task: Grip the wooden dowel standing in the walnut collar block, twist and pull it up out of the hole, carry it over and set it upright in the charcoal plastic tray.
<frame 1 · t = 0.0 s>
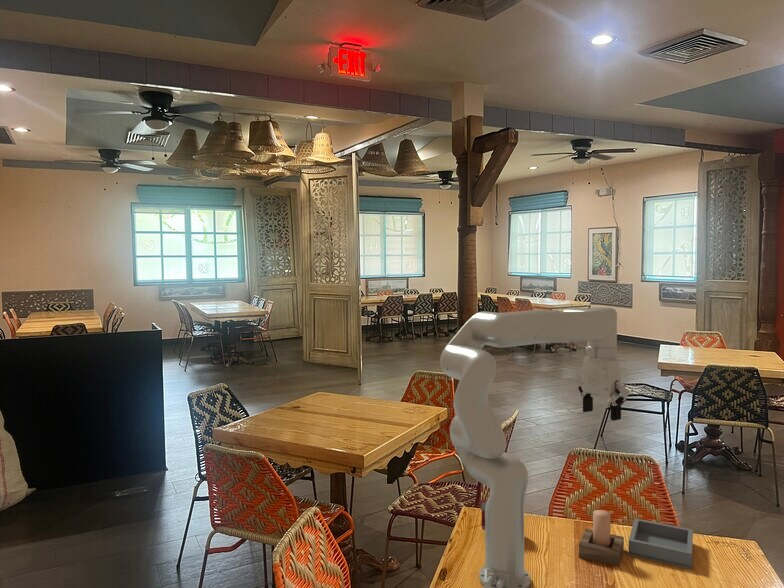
hand: (601, 415, 150), 37 cm above the table, tool pointing down, fingers open, 9 cm apart
collar block: (601, 553, 149), on the table
toy fire truck: (501, 536, 160), on the table
tray: (661, 549, 151), on the table
dowel: (601, 533, 149), in the collar block
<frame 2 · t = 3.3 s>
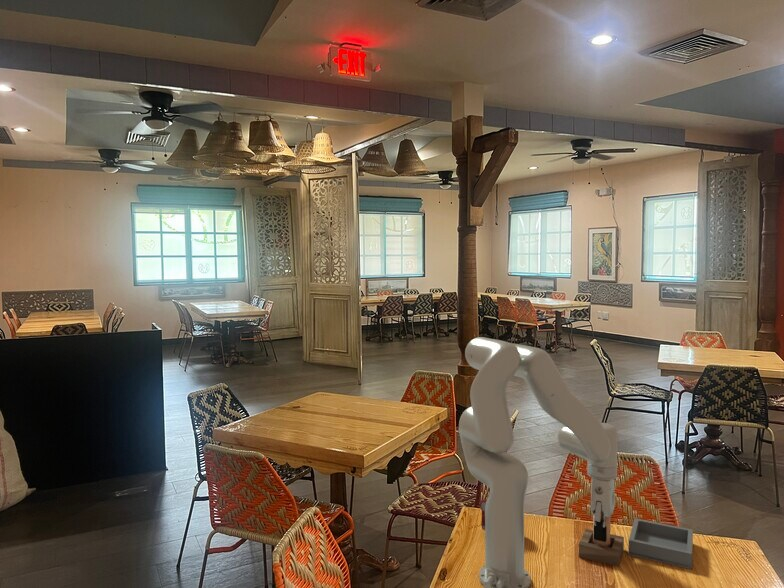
hand: (601, 535, 149), 5 cm above the table, tool pointing down, fingers closed on dowel, 4 cm apart
dowel: (601, 533, 149), in the collar block, touching gripper
everything else where it was.
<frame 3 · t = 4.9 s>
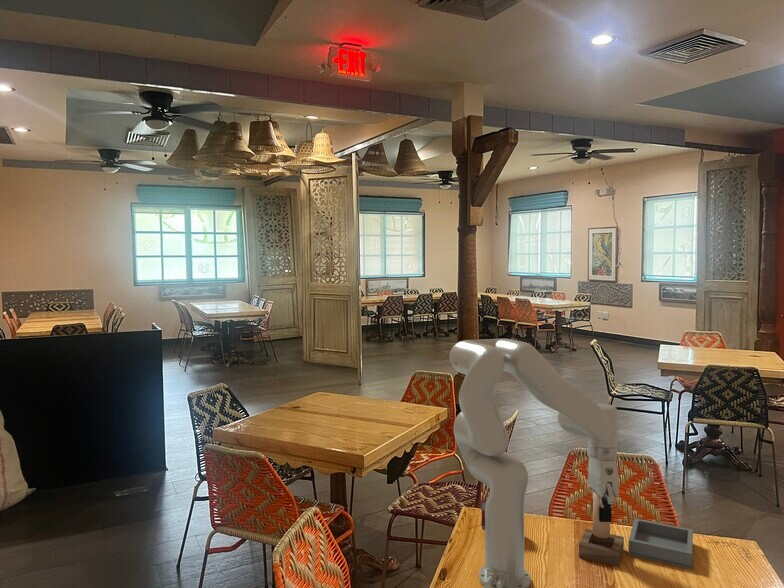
hand: (601, 516, 149), 10 cm above the table, tool pointing down, fingers closed on dowel, 4 cm apart
dowel: (601, 514, 149), point 11 cm above the table, touching gripper
everything else where it was.
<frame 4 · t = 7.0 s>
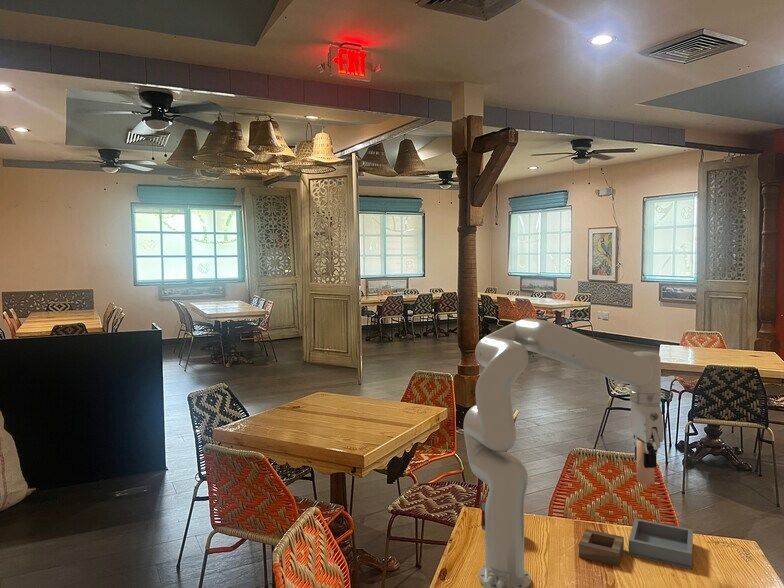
hand: (645, 463, 150), 24 cm above the table, tool pointing down, fingers closed on dowel, 4 cm apart
dowel: (645, 460, 150), point 25 cm above the table, touching gripper
everything else where it was.
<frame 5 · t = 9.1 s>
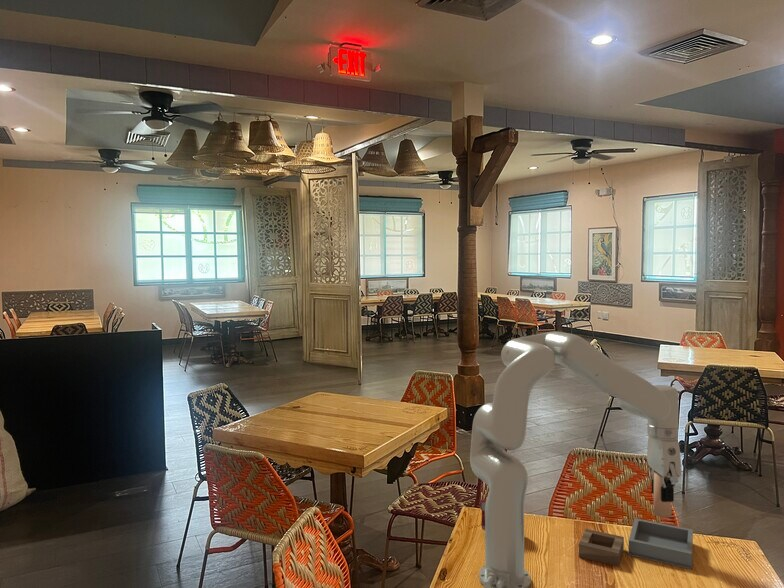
hand: (662, 496, 151), 15 cm above the table, tool pointing down, fingers closed on dowel, 4 cm apart
dowel: (662, 494, 150), point 15 cm above the table, touching gripper
everything else where it was.
when the fingers open (7 cm above the table, at t = 10.8 s): dowel drops 2 cm, resting on tray.
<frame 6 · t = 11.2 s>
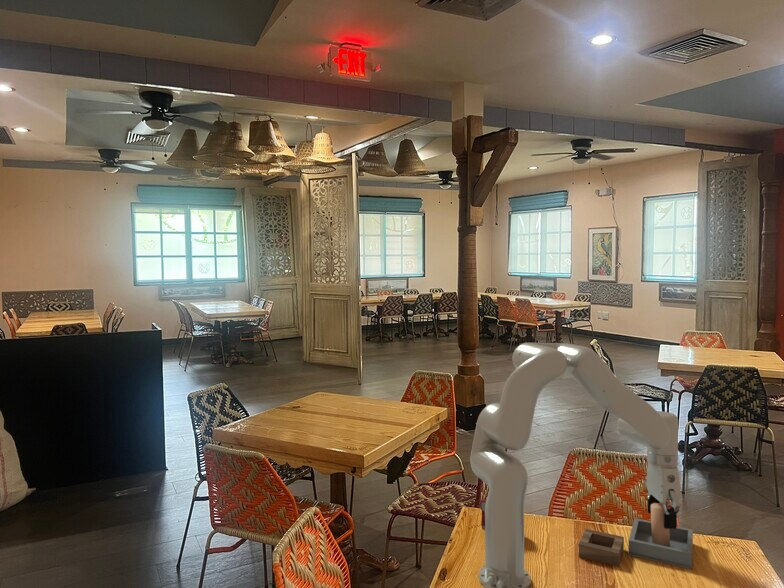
hand: (661, 520, 151), 8 cm above the table, tool pointing down, fingers open, 8 cm apart
dowel: (660, 526, 151), in the tray, point 6 cm above the table
everything else where it was.
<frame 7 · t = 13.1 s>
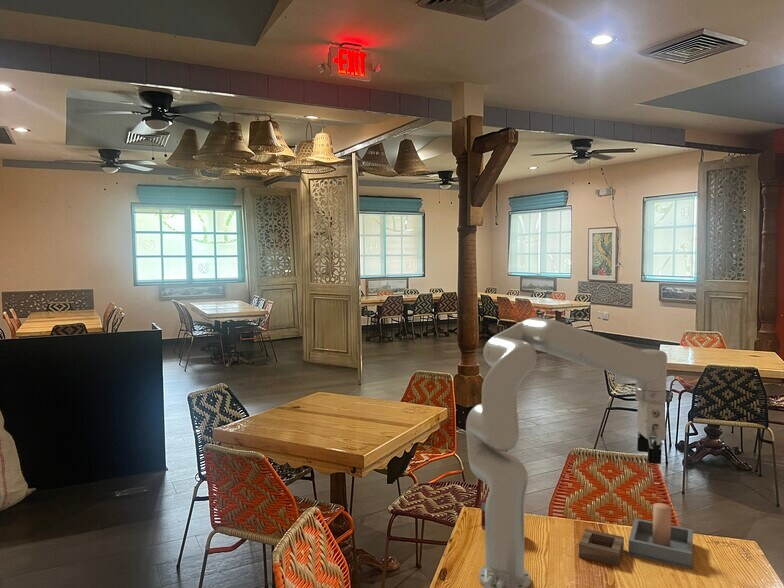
hand: (648, 457, 150), 26 cm above the table, tool pointing down, fingers open, 9 cm apart
nothing on the table moved.
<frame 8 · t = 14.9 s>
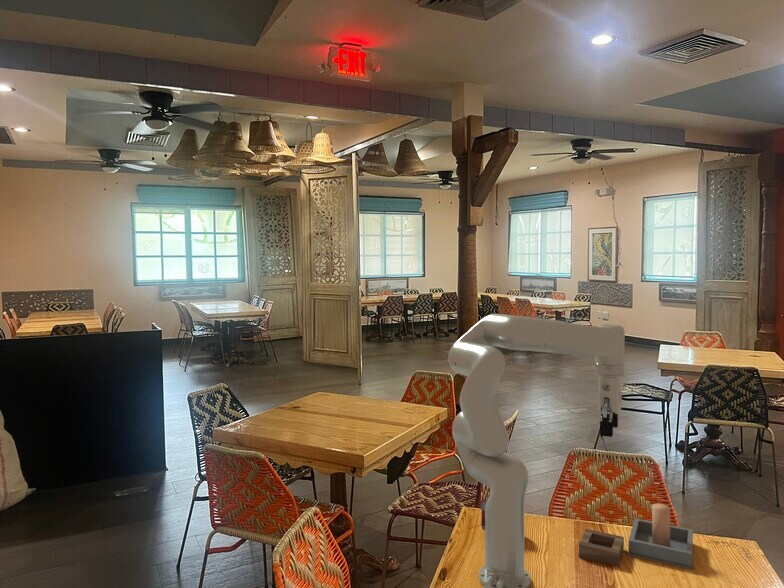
hand: (609, 431, 152), 32 cm above the table, tool pointing down, fingers open, 9 cm apart
nothing on the table moved.
at the end: dowel inside the target area on the tray (0.0 cm from its centre), point 6.4 cm above the tray's base; dowel tilted 2°; the gripper is holding nothing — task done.
